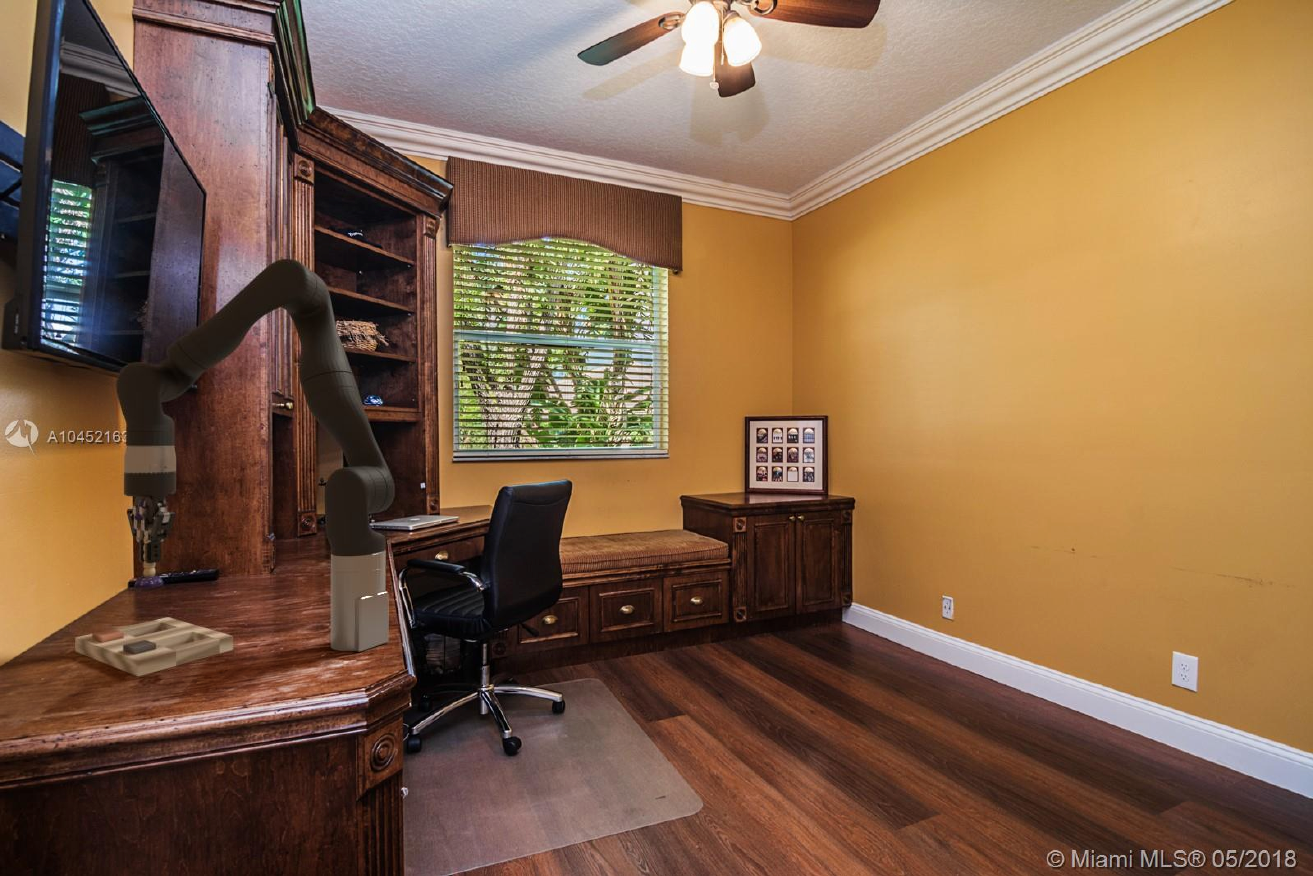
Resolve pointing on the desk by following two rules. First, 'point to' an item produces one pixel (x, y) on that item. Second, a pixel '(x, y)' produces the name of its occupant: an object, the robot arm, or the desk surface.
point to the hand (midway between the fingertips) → (150, 561)
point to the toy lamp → (149, 570)
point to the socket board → (153, 645)
